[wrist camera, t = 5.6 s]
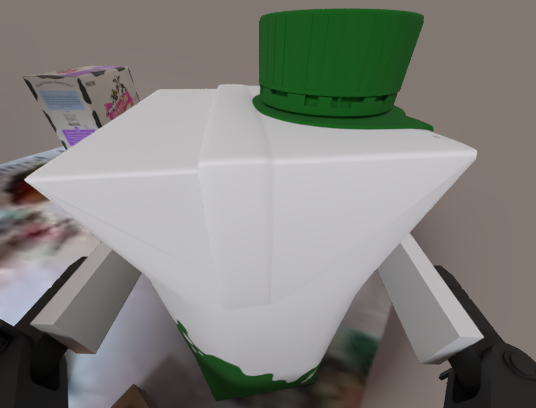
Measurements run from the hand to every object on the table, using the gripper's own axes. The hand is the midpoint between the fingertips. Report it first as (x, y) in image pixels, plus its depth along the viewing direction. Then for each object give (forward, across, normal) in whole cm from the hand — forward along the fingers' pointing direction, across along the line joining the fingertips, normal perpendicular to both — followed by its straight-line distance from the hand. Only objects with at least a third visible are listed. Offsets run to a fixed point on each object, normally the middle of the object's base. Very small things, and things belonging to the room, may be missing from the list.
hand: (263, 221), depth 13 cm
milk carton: (-2, 0, -11) cm, 11 cm away
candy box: (+23, -25, -11) cm, 36 cm away
